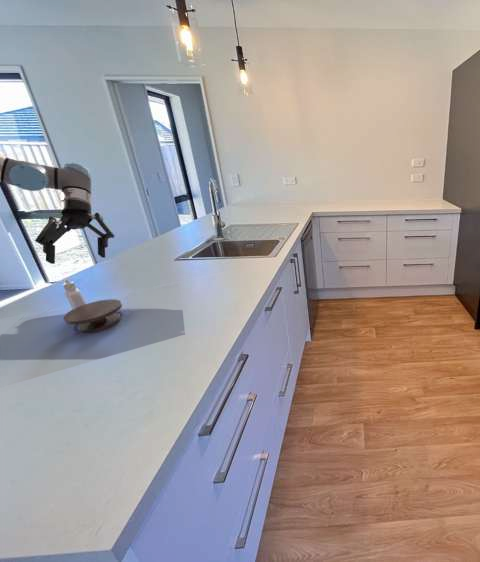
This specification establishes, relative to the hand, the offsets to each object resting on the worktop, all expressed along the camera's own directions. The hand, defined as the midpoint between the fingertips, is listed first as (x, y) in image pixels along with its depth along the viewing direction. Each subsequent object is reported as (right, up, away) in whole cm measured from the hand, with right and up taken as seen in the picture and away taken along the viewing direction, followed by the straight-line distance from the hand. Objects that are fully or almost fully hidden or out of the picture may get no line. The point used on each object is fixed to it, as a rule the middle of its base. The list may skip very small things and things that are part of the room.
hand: (76, 259), depth 99 cm
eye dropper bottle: (+4, -18, -2) cm, 19 cm away
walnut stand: (+16, -20, -9) cm, 27 cm away
